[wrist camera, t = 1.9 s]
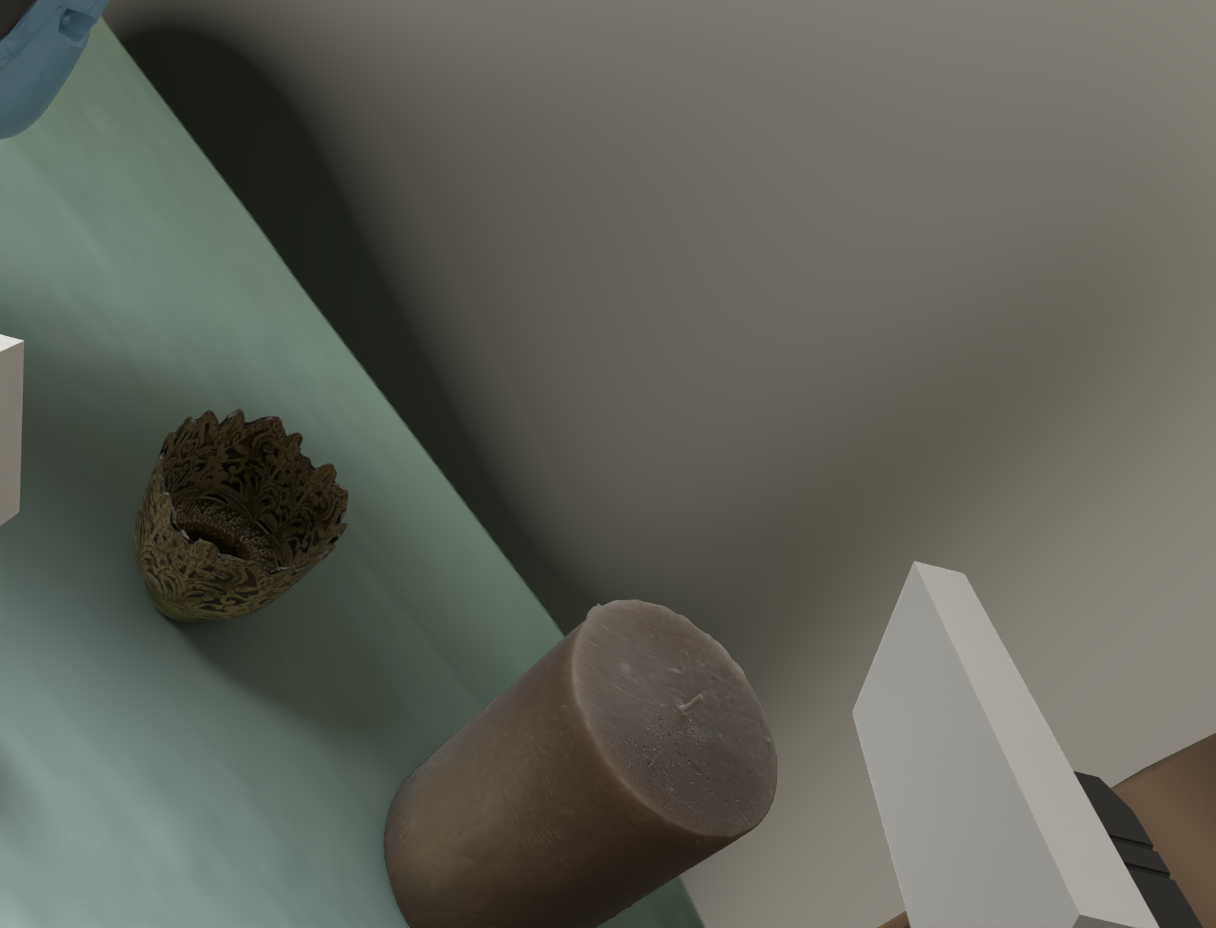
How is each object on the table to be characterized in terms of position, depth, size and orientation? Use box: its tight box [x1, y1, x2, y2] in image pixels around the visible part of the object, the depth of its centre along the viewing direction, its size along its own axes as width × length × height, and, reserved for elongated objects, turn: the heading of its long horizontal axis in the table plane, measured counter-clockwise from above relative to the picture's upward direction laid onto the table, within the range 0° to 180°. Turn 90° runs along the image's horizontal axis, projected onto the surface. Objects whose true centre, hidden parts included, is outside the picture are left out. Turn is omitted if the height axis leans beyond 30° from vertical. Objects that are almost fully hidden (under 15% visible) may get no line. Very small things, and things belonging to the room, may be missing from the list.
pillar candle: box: [384, 600, 777, 928], centre depth 41 cm, size 10×10×15 cm
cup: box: [133, 409, 348, 623], centre depth 42 cm, size 7×7×8 cm
